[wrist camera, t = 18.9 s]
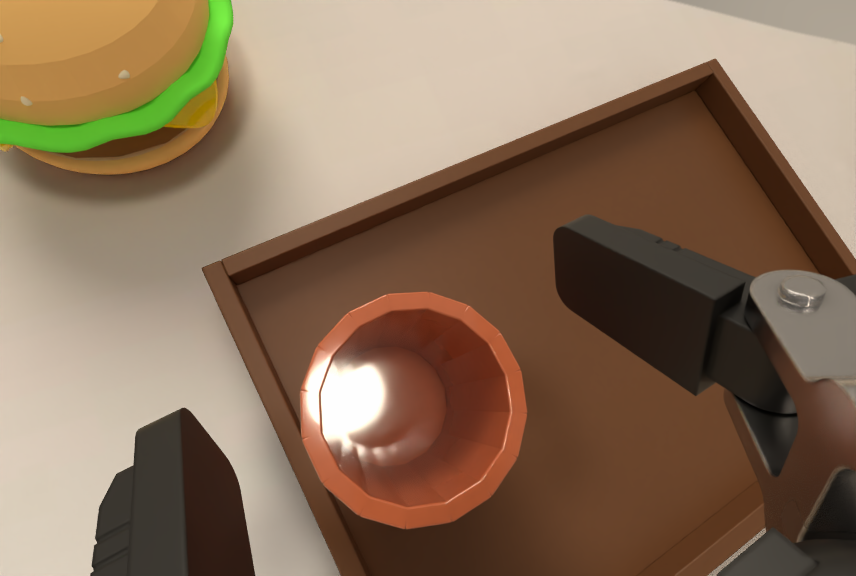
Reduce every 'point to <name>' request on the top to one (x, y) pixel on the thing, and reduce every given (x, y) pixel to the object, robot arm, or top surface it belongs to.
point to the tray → (550, 332)
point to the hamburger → (111, 79)
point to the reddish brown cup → (413, 410)
